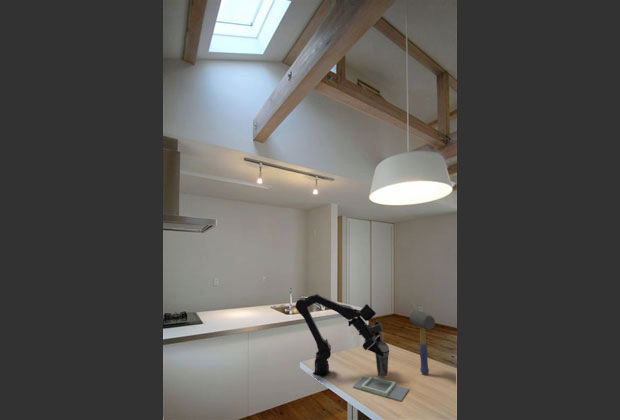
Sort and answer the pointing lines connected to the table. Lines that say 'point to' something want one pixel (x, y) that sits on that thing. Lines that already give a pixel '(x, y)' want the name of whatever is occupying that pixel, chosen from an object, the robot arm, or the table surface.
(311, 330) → the robot arm
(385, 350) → the beverage cup
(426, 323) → the rubber mallet
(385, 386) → the socket board
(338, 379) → the table surface
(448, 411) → the table surface
